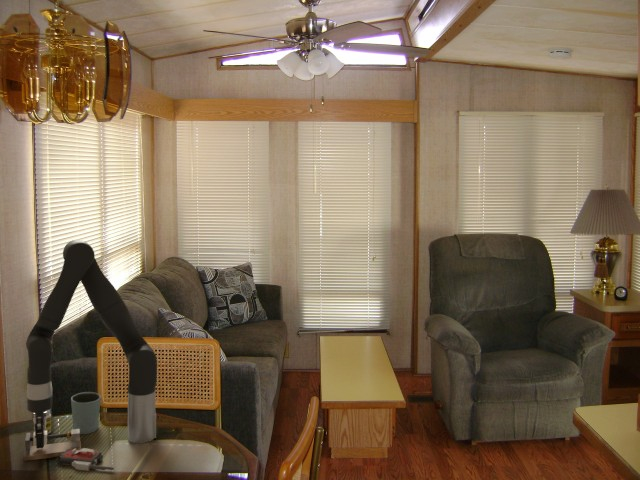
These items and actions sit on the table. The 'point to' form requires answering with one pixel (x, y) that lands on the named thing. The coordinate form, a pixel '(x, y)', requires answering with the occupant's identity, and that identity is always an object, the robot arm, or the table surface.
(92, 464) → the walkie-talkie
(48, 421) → the supplement bottle
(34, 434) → the sleeve
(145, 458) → the table surface
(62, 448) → the linear slider rail
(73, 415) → the blue-grey cylindrical pot
